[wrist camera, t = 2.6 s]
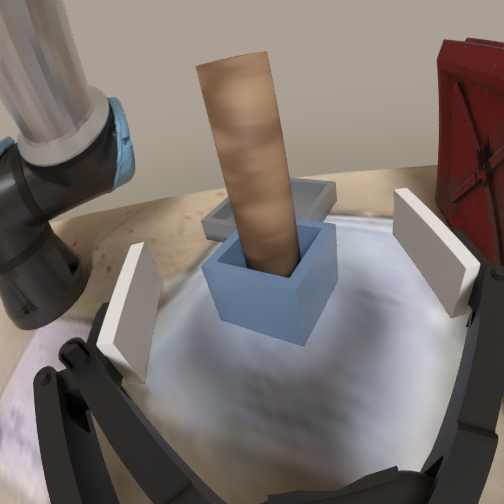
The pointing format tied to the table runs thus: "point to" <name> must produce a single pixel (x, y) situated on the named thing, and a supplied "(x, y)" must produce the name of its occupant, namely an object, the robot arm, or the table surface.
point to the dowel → (253, 159)
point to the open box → (276, 285)
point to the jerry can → (472, 142)
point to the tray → (304, 198)
